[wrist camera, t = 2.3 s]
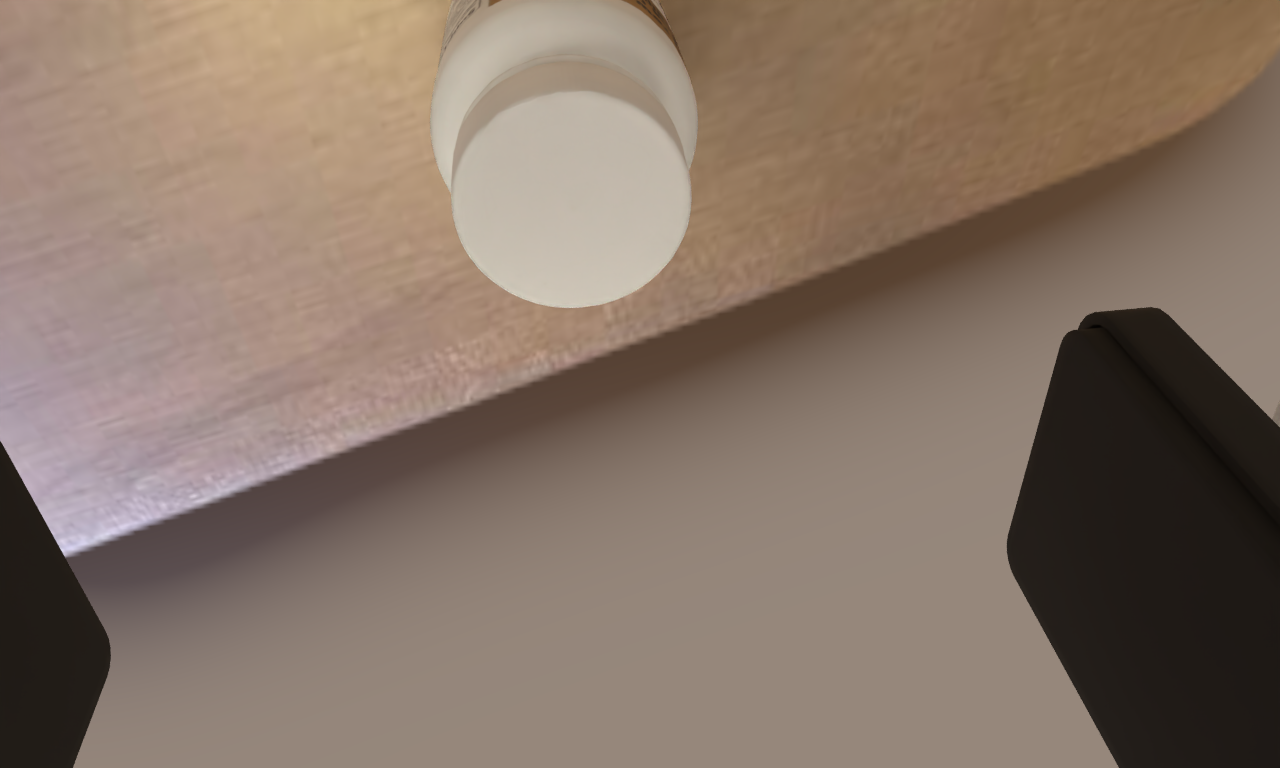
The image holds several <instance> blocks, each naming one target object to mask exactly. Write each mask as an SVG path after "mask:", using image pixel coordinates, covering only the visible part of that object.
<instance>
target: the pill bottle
mask: <svg viewBox="0 0 1280 768" xmlns="http://www.w3.org/2000/svg"><path fill="white" fill-rule="evenodd" d="M697 132H698V113H697V103H696V98H695V94H694V90H693V87H692V83H691V79H690V76H689V74H688V71H687V69H686V66H685V64H684V61H683V58H682V55H681V53H680V50H679V47H678V45H677V42H676V40H675V37H674V35H673V32H672V30H671V28H670V25H669V23H668V19H667V18H666V16H665V13H664V11H663V9H662V7H661V4H660V2H659V0H452V2H451V5H450V9H449V13H448V17H447V22H446V27H445V32H444V37H443V43H442V49H441V54H440V61H439V66H438V70H437V74H436V78H435V82H434V89H433V94H432V102H431V116H430V133H431V141H432V147H433V151H434V155H435V160H436V162H437V165H438V168H439V171H440V173H441V176H442V178H443V180H444V182H445V184H446V185H447V187H448V189H449V191H450V192H451V203H452V214H453V219H454V223H455V227H456V230H457V233H458V236H459V238H460V240H461V243H462V245H463V247H464V249H465V251H466V252H467V254H468V255H469V257H470V258H471V260H472V261H473V262H474V264H475V265H476V266H477V267H478V268H479V269H480V271H481V272H482V273H484V274H485V275H486V276H487V277H488V278H489V279H490V280H492V281H493V282H494V283H496V284H497V285H498V286H500V287H501V288H503V289H504V290H506V291H508V292H509V293H511V294H513V295H515V296H517V297H520V298H522V299H524V300H527V301H530V302H533V303H537V304H540V305H545V306H551V307H561V308H581V307H589V306H593V305H601V304H605V303H608V302H612V301H615V300H617V299H620V298H622V297H625V296H627V295H629V294H631V293H633V292H635V291H636V290H638V289H639V288H641V287H642V286H644V285H645V284H647V283H648V282H649V281H650V280H652V279H653V278H654V277H655V276H656V275H657V274H658V273H659V272H660V271H661V270H662V269H663V268H664V267H665V266H666V265H667V264H668V262H669V261H670V260H671V259H672V258H673V256H674V254H675V252H676V250H677V249H678V247H679V246H680V244H681V242H682V239H683V237H684V235H685V232H686V230H687V226H688V223H689V218H690V212H691V201H692V196H691V181H690V174H689V169H690V166H691V163H692V160H693V157H694V153H695V148H696V142H697Z"/></svg>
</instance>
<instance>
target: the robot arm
mask: <svg viewBox="0 0 1280 768" xmlns="http://www.w3.org/2000/svg"><path fill="white" fill-rule="evenodd" d="M1007 554H1008V561H1009V564H1010V568H1011V570H1012V573H1013V575H1014V577H1015V579H1016V581H1017V582H1018V584H1019V586H1020V588H1021V590H1022V592H1023V594H1024V595H1025V597H1026V599H1027V601H1028V603H1029V604H1030V606H1031V608H1032V610H1033V612H1034V614H1035V616H1036V617H1037V619H1038V621H1039V623H1040V625H1041V626H1042V628H1043V630H1044V632H1045V634H1046V635H1047V637H1048V639H1049V641H1050V643H1051V645H1052V646H1053V648H1054V650H1055V652H1056V654H1057V656H1058V657H1059V659H1060V661H1061V663H1062V665H1063V666H1064V668H1065V670H1066V672H1067V674H1068V676H1069V677H1070V679H1071V681H1072V683H1073V685H1074V687H1075V688H1076V690H1077V692H1078V694H1079V696H1080V697H1081V699H1082V701H1083V703H1084V705H1085V707H1086V708H1087V710H1088V712H1089V714H1090V716H1091V718H1092V719H1093V721H1094V723H1095V725H1096V727H1097V728H1098V730H1099V732H1100V734H1101V736H1102V738H1103V739H1104V741H1105V743H1106V745H1107V747H1108V748H1109V750H1110V752H1111V754H1112V756H1113V757H1114V759H1115V761H1116V763H1117V765H1118V767H1119V768H1280V427H1279V426H1278V425H1277V424H1276V423H1275V422H1274V421H1273V420H1272V419H1271V418H1270V417H1269V416H1267V414H1266V413H1265V412H1264V411H1263V410H1262V409H1261V408H1260V407H1259V406H1258V405H1257V404H1256V403H1255V402H1254V401H1253V400H1252V399H1251V398H1250V397H1249V396H1248V395H1247V394H1246V393H1245V392H1244V391H1243V390H1242V389H1241V388H1240V387H1239V386H1238V385H1237V384H1236V383H1235V382H1234V381H1233V380H1232V379H1231V378H1230V377H1229V376H1228V375H1227V374H1226V373H1225V372H1224V371H1223V370H1222V369H1221V368H1220V367H1219V366H1218V365H1217V364H1216V363H1215V362H1214V361H1213V360H1212V359H1211V358H1210V357H1209V356H1208V355H1207V354H1206V353H1205V352H1204V351H1203V350H1202V349H1201V348H1200V347H1199V346H1198V345H1197V344H1196V343H1195V342H1194V340H1193V339H1192V338H1190V337H1189V335H1187V333H1186V332H1184V330H1182V328H1180V326H1179V325H1178V324H1177V323H1176V322H1175V321H1174V320H1173V319H1172V318H1171V317H1170V316H1169V315H1167V314H1166V313H1165V312H1163V311H1162V310H1161V309H1158V308H1152V307H1148V308H1137V309H1126V310H1115V311H1104V312H1094V313H1092V314H1090V315H1087V316H1086V317H1085V318H1084V319H1083V321H1082V322H1081V323H1080V326H1079V328H1078V330H1073V331H1070V332H1068V333H1067V334H1066V335H1065V337H1064V338H1063V340H1062V343H1061V345H1060V348H1059V352H1058V356H1057V360H1056V363H1055V367H1054V370H1053V374H1052V377H1051V381H1050V385H1049V389H1048V392H1047V396H1046V399H1045V403H1044V407H1043V410H1042V414H1041V418H1040V421H1039V425H1038V428H1037V432H1036V436H1035V439H1034V443H1033V446H1032V450H1031V454H1030V457H1029V461H1028V465H1027V468H1026V472H1025V475H1024V479H1023V483H1022V486H1021V490H1020V494H1019V497H1018V501H1017V504H1016V508H1015V512H1014V515H1013V519H1012V523H1011V526H1010V530H1009V534H1008V539H1007ZM110 659H111V654H110V643H109V638H108V636H107V633H106V631H105V629H104V627H103V626H102V624H101V622H100V620H99V618H98V617H97V615H96V613H95V611H94V609H93V607H92V606H91V604H90V602H89V601H88V598H87V597H86V595H85V593H84V591H83V589H82V588H81V586H80V584H79V582H78V580H77V579H76V577H75V575H74V573H73V572H72V569H71V568H70V566H69V564H68V562H67V560H66V559H65V557H64V555H63V553H62V551H61V550H60V548H59V546H58V544H57V542H56V540H55V539H54V537H53V535H52V533H51V531H50V530H49V528H48V526H47V524H46V522H45V521H44V519H43V517H42V515H41V513H40V512H39V510H38V508H37V506H36V504H35V502H34V501H33V499H32V497H31V495H30V493H29V492H28V490H27V488H26V486H25V484H24V483H23V481H22V479H21V477H20V475H19V473H18V472H17V470H16V468H15V466H14V464H13V463H12V461H11V459H10V457H9V455H8V454H7V452H6V450H5V448H4V446H3V445H2V443H1V442H0V768H73V765H74V763H75V760H76V758H77V755H78V752H79V750H80V747H81V744H82V741H83V739H84V736H85V734H86V731H87V728H88V726H89V723H90V721H91V718H92V715H93V713H94V710H95V707H96V705H97V702H98V699H99V697H100V694H101V691H102V689H103V686H104V684H105V681H106V678H107V675H108V671H109V668H110Z"/></svg>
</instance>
